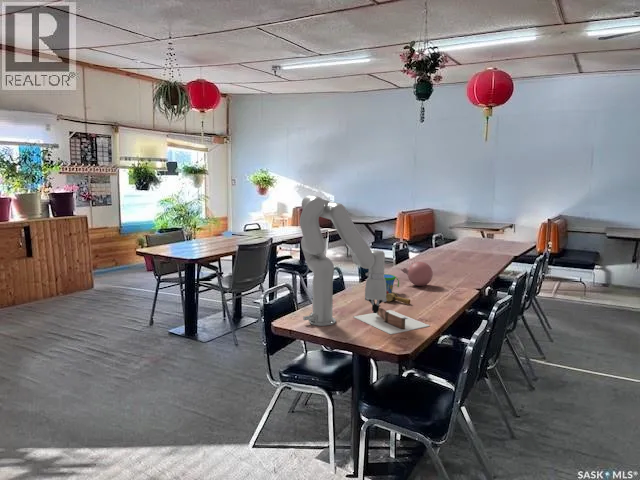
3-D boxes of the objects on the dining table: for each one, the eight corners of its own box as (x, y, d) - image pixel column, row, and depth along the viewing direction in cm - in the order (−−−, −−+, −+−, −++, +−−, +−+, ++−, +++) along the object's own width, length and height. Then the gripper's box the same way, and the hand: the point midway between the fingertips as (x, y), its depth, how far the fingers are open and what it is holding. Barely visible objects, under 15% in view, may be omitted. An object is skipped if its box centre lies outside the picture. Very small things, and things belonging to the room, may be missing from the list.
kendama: (411, 304, 260) (382, 296, 269) (412, 294, 258) (383, 286, 267) (406, 310, 254) (376, 301, 263) (407, 300, 252) (376, 291, 261)
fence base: (402, 329, 213) (403, 319, 212) (384, 321, 224) (384, 312, 224) (405, 329, 214) (405, 319, 213) (387, 321, 225) (387, 311, 225)
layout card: (390, 334, 208) (390, 333, 208) (353, 317, 233) (353, 316, 232) (429, 326, 219) (429, 325, 219) (390, 310, 244) (390, 309, 244)
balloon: (404, 281, 310) (404, 258, 308) (434, 284, 302) (435, 260, 299) (397, 286, 297) (397, 262, 294) (428, 289, 288) (429, 264, 286)
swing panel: (387, 320, 225) (387, 311, 225) (384, 320, 225) (384, 311, 224) (379, 313, 236) (379, 305, 236) (376, 313, 236) (376, 305, 235)
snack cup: (398, 290, 285) (398, 274, 284) (399, 295, 275) (400, 278, 274) (372, 290, 287) (372, 273, 285) (372, 294, 276) (372, 277, 275)
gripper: (359, 276, 228) (358, 313, 231) (390, 278, 224) (389, 316, 227) (362, 273, 235) (361, 309, 238) (392, 275, 232) (391, 311, 234)
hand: (375, 312), depth 232 cm, fingers closed
